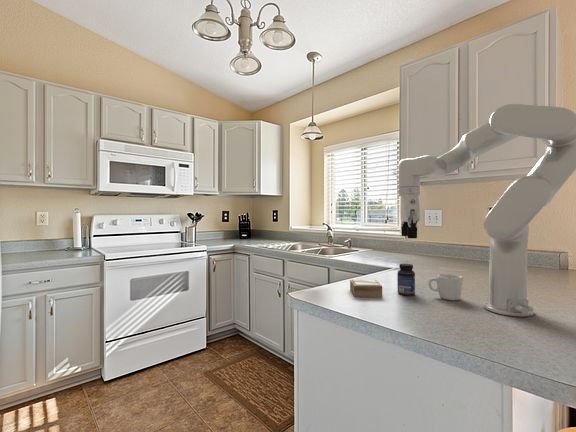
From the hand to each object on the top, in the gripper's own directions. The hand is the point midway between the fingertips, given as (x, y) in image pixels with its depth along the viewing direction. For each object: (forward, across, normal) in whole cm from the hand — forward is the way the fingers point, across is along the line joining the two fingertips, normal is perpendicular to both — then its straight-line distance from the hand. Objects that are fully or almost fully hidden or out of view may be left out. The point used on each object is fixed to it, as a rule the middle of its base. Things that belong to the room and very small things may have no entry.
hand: (408, 237), depth 116 cm
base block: (+21, -4, +16) cm, 27 cm away
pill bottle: (+21, -2, +1) cm, 21 cm away
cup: (+21, -6, -11) cm, 25 cm away
